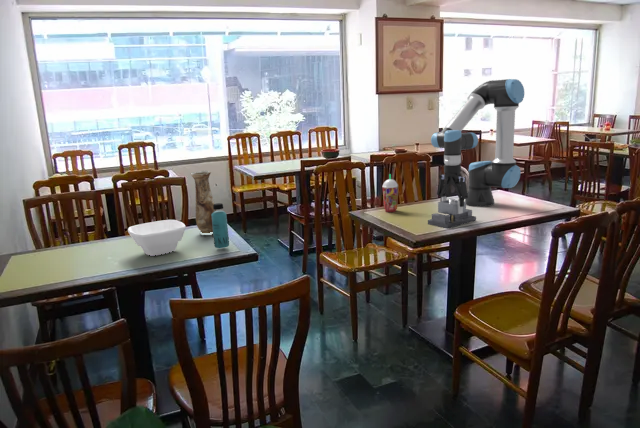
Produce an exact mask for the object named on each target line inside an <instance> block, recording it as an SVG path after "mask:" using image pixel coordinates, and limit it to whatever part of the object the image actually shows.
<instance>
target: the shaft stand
mask: <svg viewBox="0 0 640 428" xmlns="http://www.w3.org/2000/svg"><path fill="white" fill-rule="evenodd" d="M448 200H449V203H451V204H454V203H455V200H456V199H454V198H449V199H448ZM476 221H477V216H474V215H473V210H472V209H468V208H466V212H465V213H461V214H457V215H449V214H443V213H439V212H435V213H431V219H428V220H427V225H430V226H435V227H438V228H439V227H440V228H442V227H443V228H444V229H447V230H448V229H451V227H452V228H455V227H458V226H463V225H467V224H469V223H473V222H476Z"/></svg>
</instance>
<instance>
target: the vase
mask: <svg viewBox="0 0 640 428" xmlns="http://www.w3.org/2000/svg"><path fill="white" fill-rule="evenodd" d="M211 173H212V171H211V170H210V171H209V170H201V171H196V172H191V173H190V175H191V177H192V178H193V179H194V184H195V222H196V223H195V224H196V227H197V229H198V230H200V232H202V233H210V232H213V226H212V216H211V215H212V213H213V212H215V211H217V210H214V209H213V205H214V204H215V201H214V200H215V199H214V197H213V194H212V191H211V186H210V181H209V179H210V175H211Z"/></svg>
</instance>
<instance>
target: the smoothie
mask: <svg viewBox="0 0 640 428" xmlns="http://www.w3.org/2000/svg"><path fill="white" fill-rule="evenodd" d="M388 176H389V178H388V179H386V180H385V181H384V182H383V184H382V195H383V196H382V198H383V207H384V210H385V213H395V212H397V209H398V201H399V200H398V196H399V184H398V183H397V181H396V180H395V179H392V177H391V176H392V175H391V173H389V174H388Z"/></svg>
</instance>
